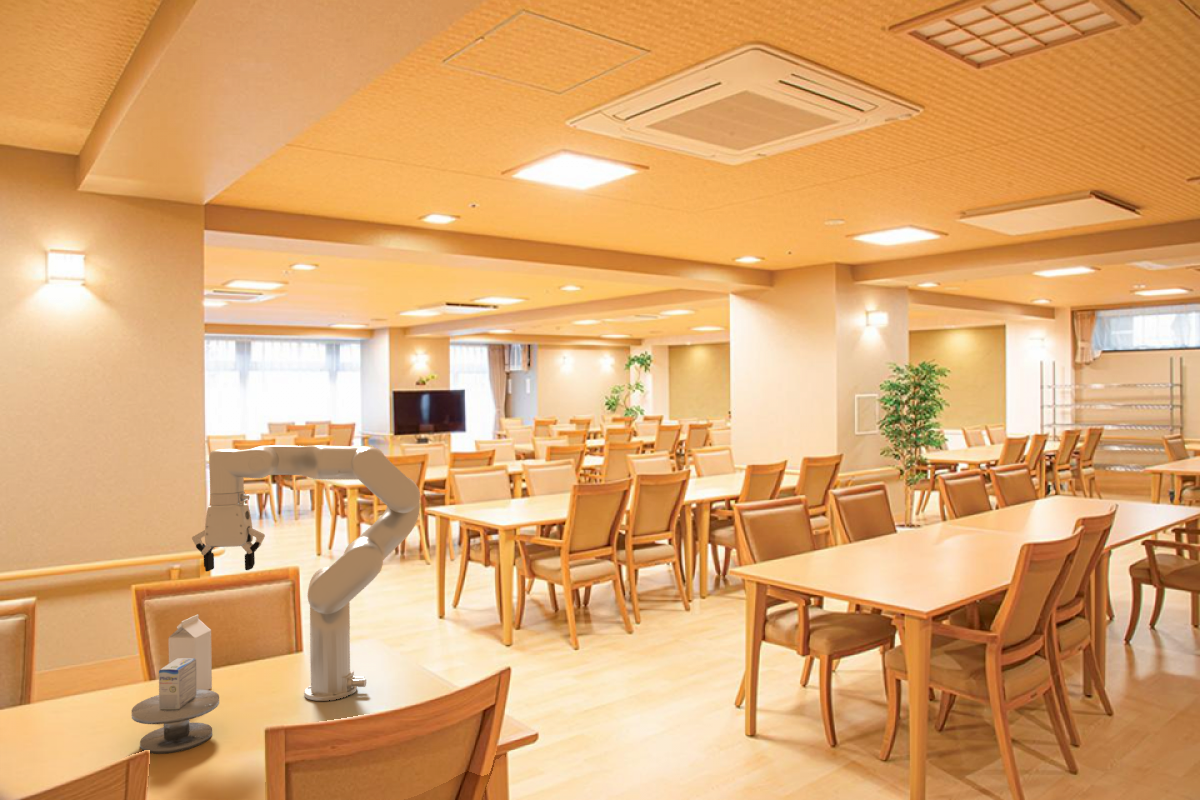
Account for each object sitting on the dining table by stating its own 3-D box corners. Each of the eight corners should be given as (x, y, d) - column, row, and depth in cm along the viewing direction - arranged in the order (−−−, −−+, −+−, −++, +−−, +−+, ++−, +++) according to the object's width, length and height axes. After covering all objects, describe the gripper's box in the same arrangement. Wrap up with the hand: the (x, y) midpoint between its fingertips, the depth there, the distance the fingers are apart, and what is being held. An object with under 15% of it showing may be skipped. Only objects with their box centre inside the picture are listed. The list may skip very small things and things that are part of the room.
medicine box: (177, 696, 182) (176, 657, 182) (197, 696, 182) (196, 657, 182) (158, 710, 174) (158, 669, 174) (179, 709, 174) (179, 669, 174)
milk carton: (212, 688, 210) (211, 614, 210) (195, 698, 203) (194, 622, 203) (186, 687, 211) (185, 614, 211) (169, 697, 204) (167, 621, 204)
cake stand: (234, 724, 186) (233, 689, 186) (194, 757, 169) (193, 718, 169) (161, 724, 187) (160, 689, 187) (114, 756, 170) (113, 718, 170)
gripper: (269, 496, 203) (271, 565, 203) (199, 498, 203) (201, 567, 203) (256, 500, 195) (258, 572, 195) (184, 502, 195) (186, 574, 195)
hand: (229, 569), depth 199 cm, fingers open, 9 cm apart
